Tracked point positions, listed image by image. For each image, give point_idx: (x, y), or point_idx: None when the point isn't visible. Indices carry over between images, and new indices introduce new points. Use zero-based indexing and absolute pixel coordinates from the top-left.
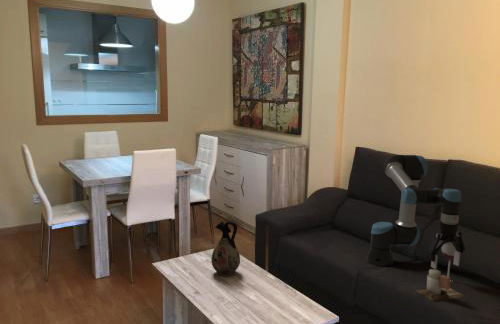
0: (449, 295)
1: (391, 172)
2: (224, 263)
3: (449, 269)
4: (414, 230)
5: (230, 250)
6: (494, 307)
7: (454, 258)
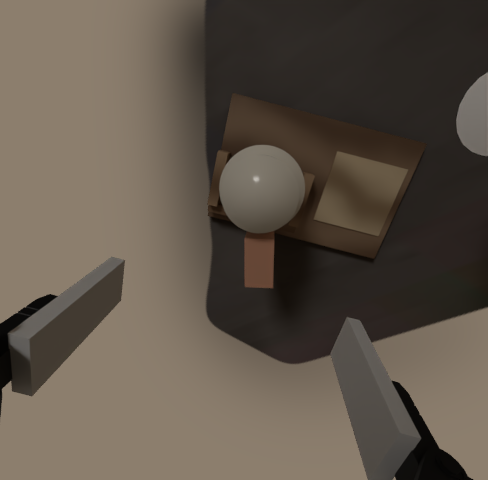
0: (319, 220)
1: None
2: None
3: None
4: None
5: None
6: (377, 338)
7: (360, 360)
